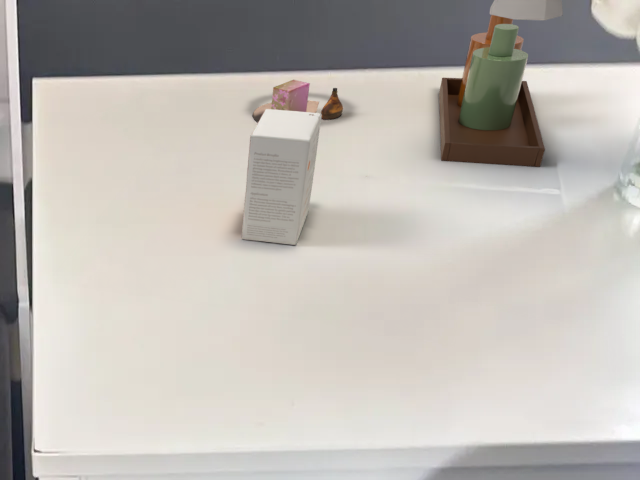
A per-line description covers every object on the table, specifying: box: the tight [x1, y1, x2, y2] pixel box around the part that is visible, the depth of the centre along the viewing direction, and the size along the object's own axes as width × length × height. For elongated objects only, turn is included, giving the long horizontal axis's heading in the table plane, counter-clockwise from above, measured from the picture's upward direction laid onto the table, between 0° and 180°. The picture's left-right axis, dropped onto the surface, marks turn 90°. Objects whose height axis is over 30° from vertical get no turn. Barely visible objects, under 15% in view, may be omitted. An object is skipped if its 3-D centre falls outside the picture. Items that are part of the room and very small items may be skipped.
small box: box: [241, 109, 322, 246], centre depth 93 cm, size 8×6×10 cm
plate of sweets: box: [251, 79, 344, 123], centre depth 121 cm, size 12×12×4 cm
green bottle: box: [458, 23, 529, 130], centre depth 113 cm, size 6×6×11 cm
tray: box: [438, 77, 546, 168], centre depth 114 cm, size 10×25×3 cm, turn 162°
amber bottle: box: [457, 14, 525, 107], centre depth 118 cm, size 6×6×11 cm
